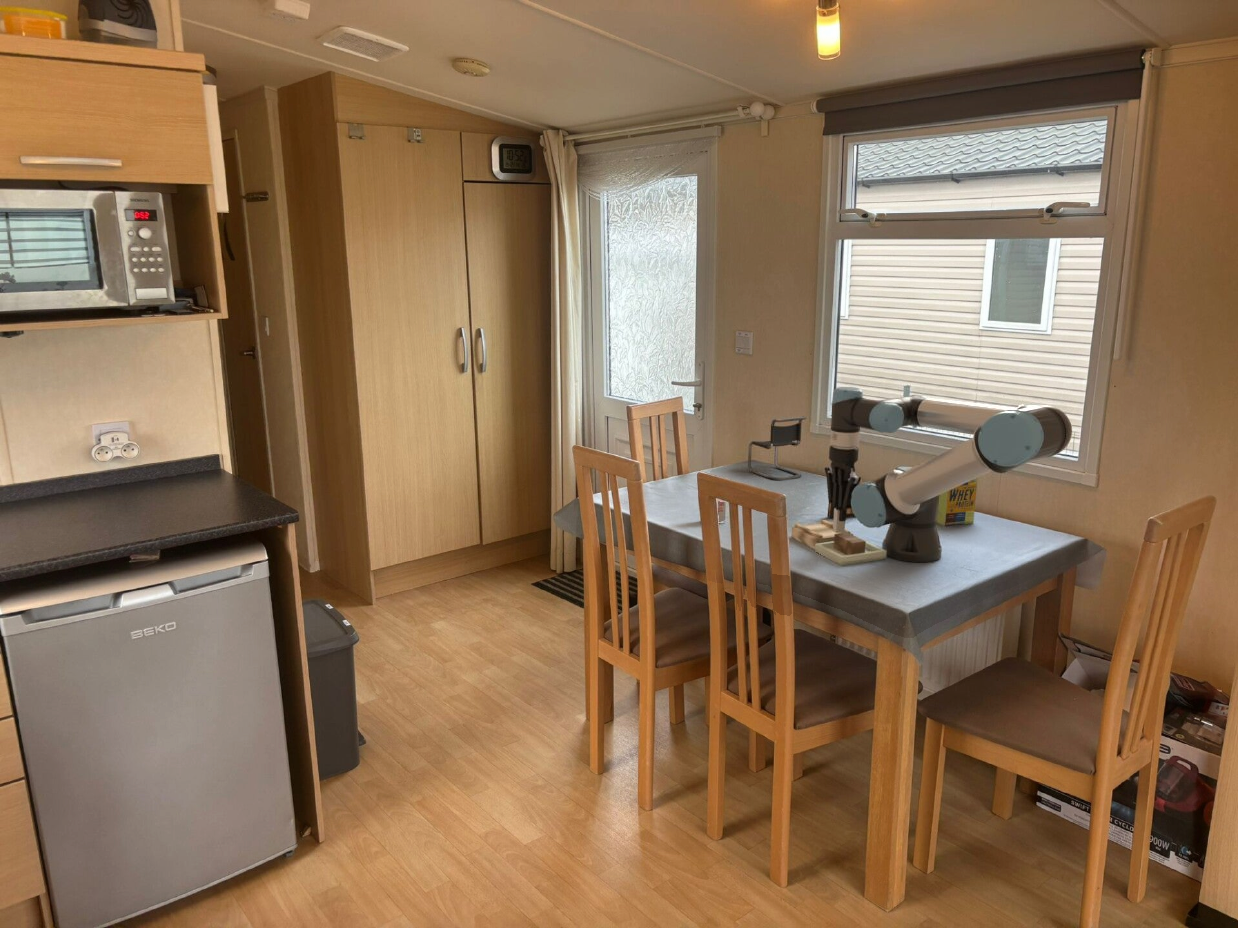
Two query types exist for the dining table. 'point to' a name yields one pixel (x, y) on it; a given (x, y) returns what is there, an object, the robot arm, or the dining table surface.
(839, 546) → the walnut block rear
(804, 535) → the slot board
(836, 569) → the dining table surface
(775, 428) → the chair
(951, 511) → the protein box
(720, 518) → the tea bag
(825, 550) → the sage tray
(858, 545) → the walnut block front
